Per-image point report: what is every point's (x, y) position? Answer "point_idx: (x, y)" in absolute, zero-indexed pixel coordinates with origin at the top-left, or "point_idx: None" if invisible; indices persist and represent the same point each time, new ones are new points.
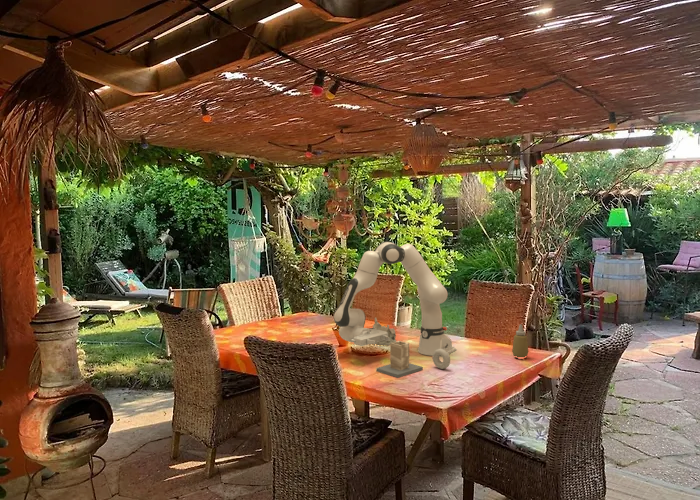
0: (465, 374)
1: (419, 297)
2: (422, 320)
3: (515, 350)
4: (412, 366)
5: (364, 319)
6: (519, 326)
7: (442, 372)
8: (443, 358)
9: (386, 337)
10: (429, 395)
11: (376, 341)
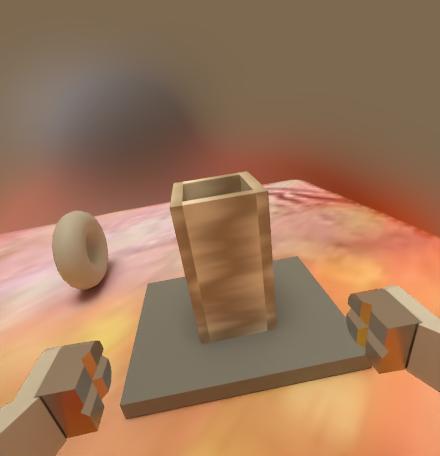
0: (111, 240)
1: None
2: None
3: None
4: (172, 300)
5: None
6: None
7: (132, 261)
8: (99, 231)
9: (83, 359)
10: (285, 198)
11: (351, 297)
